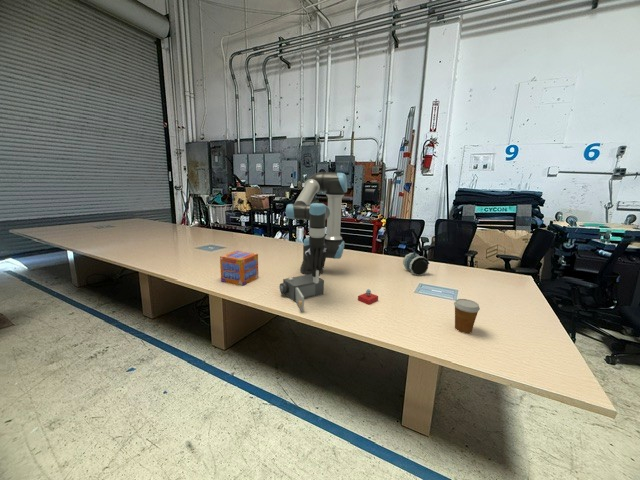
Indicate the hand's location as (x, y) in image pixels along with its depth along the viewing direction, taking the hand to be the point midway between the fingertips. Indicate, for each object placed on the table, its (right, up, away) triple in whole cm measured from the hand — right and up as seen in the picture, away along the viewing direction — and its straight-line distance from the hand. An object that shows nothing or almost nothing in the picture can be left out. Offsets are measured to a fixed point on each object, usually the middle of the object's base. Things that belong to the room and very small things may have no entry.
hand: (315, 282), depth 139 cm
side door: (-8, -10, -5) cm, 14 cm away
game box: (-46, -3, +29) cm, 54 cm away
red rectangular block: (+27, -11, +5) cm, 29 cm away
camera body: (-8, -8, +10) cm, 15 cm away
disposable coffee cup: (+62, -17, -21) cm, 68 cm away
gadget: (+67, -2, +53) cm, 85 cm away
